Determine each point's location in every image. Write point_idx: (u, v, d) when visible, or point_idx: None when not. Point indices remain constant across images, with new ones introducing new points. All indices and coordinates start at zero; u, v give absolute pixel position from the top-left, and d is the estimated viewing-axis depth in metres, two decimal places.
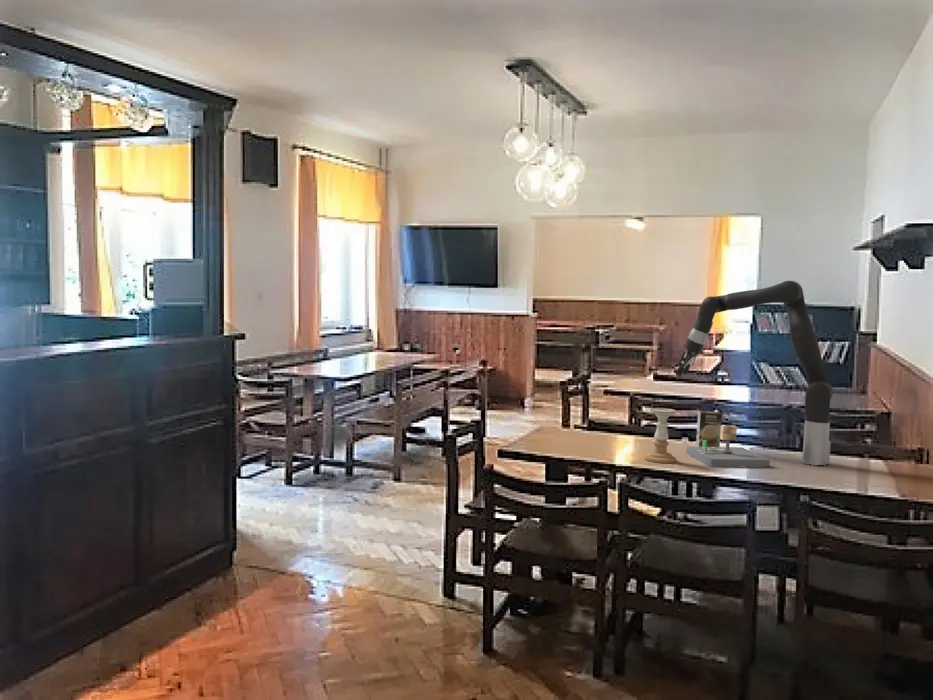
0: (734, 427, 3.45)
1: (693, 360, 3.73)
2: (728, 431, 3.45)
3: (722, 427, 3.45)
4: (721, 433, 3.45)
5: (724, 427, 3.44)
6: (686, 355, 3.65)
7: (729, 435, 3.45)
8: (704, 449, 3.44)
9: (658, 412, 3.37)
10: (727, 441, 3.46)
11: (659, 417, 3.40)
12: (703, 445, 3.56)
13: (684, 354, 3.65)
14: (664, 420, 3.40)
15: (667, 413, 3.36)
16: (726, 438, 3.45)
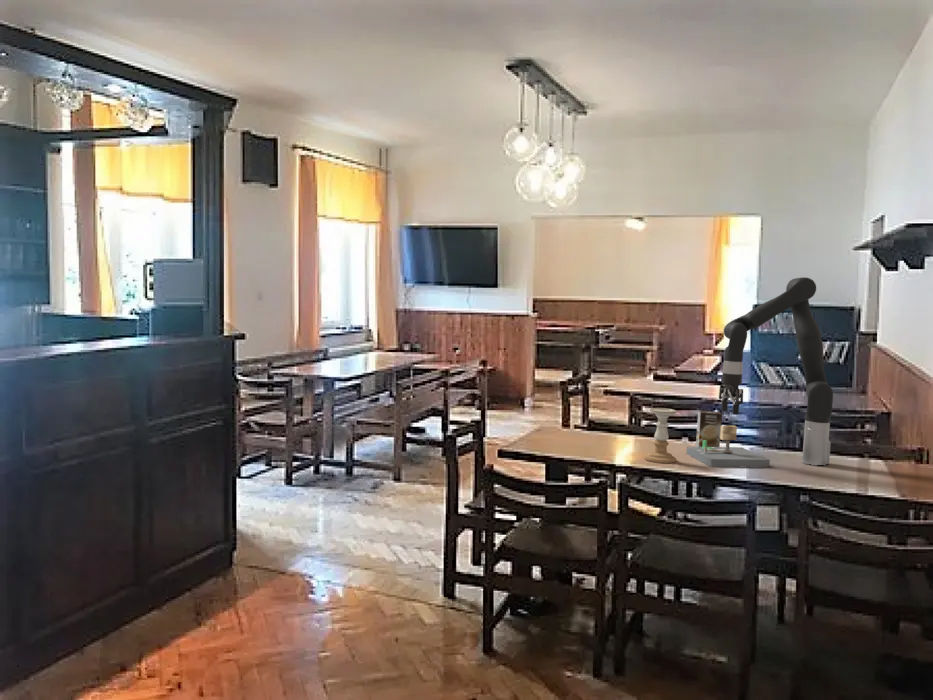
0: (734, 427, 3.45)
1: None
2: (728, 431, 3.45)
3: (722, 427, 3.45)
4: (721, 433, 3.45)
5: (724, 427, 3.44)
6: (741, 391, 3.38)
7: (729, 435, 3.45)
8: (704, 449, 3.44)
9: (658, 412, 3.37)
10: (727, 441, 3.46)
11: (659, 417, 3.40)
12: (703, 445, 3.56)
13: (739, 391, 3.38)
14: (664, 420, 3.40)
15: (667, 413, 3.36)
16: (726, 438, 3.45)
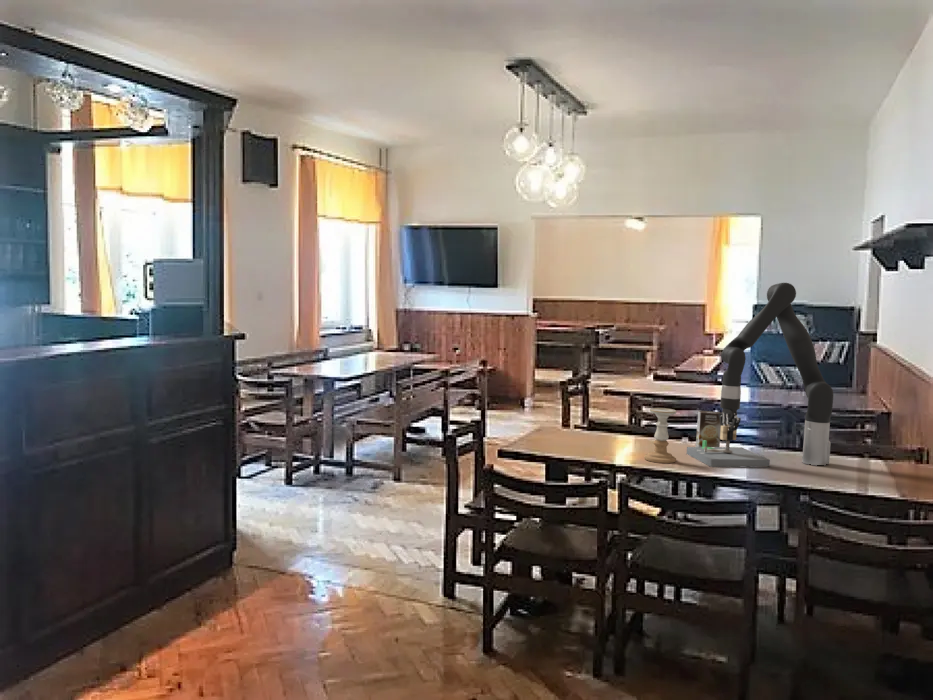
0: None
1: None
2: None
3: (722, 427, 3.45)
4: (721, 433, 3.45)
5: (724, 427, 3.44)
6: (738, 420, 3.40)
7: None
8: (704, 449, 3.44)
9: (658, 412, 3.37)
10: (727, 441, 3.46)
11: (659, 417, 3.40)
12: (703, 445, 3.56)
13: (736, 420, 3.39)
14: (664, 420, 3.40)
15: (667, 413, 3.36)
16: (726, 438, 3.45)
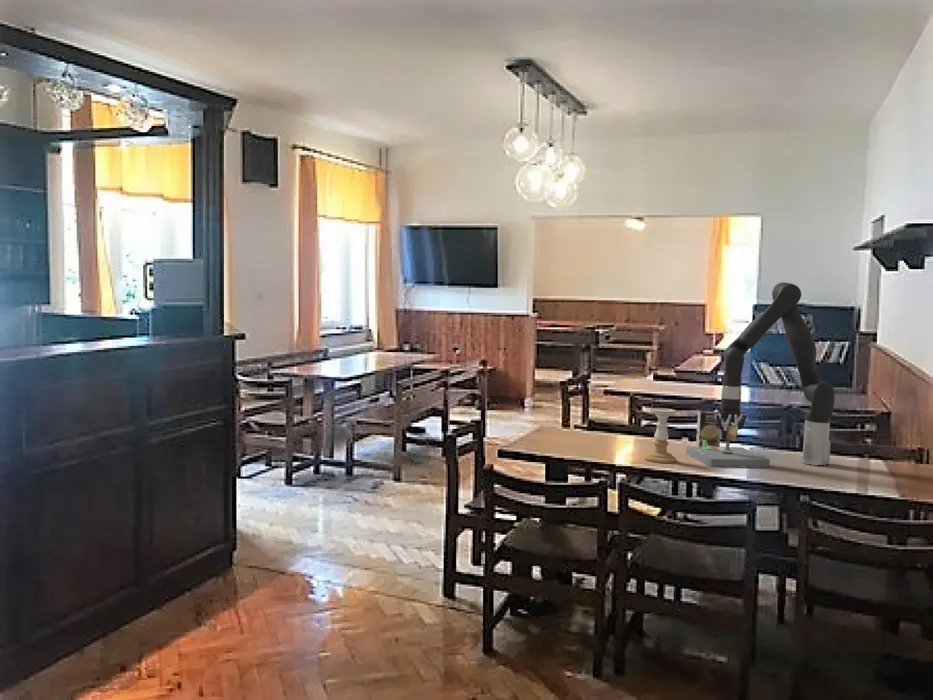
0: (731, 428, 3.44)
1: (736, 421, 3.44)
2: None
3: None
4: None
5: None
6: (715, 417, 3.44)
7: (726, 435, 3.46)
8: None
9: (658, 412, 3.37)
10: (726, 441, 3.46)
11: (659, 417, 3.40)
12: (703, 445, 3.56)
13: (714, 416, 3.44)
14: (664, 420, 3.40)
15: (667, 413, 3.36)
16: None
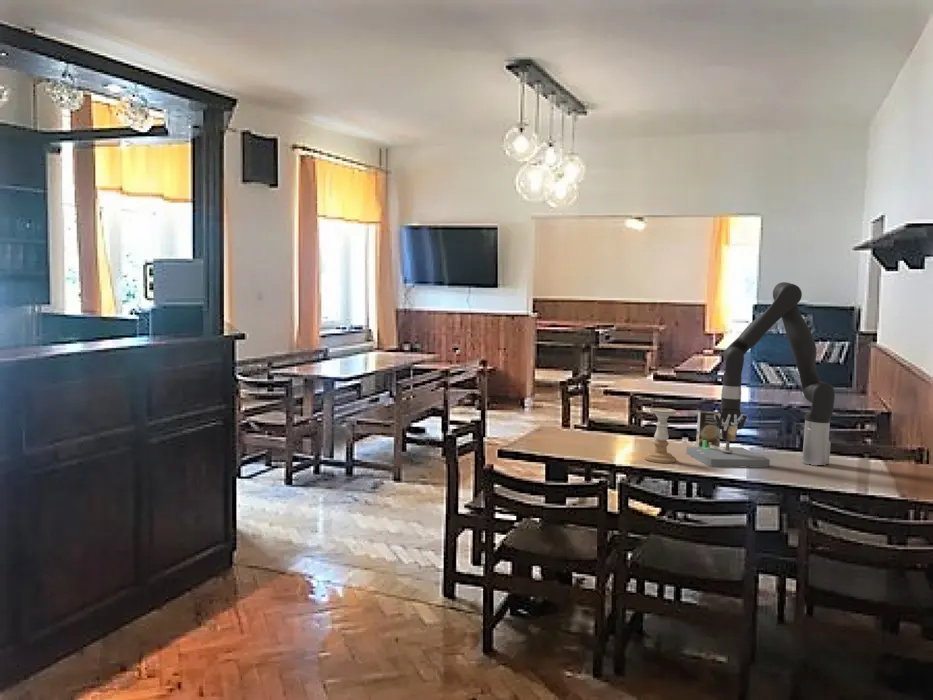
0: (730, 428, 3.44)
1: (736, 421, 3.44)
2: None
3: None
4: None
5: None
6: (715, 417, 3.44)
7: None
8: None
9: (658, 412, 3.37)
10: (726, 441, 3.46)
11: (659, 417, 3.40)
12: (703, 445, 3.56)
13: (714, 417, 3.45)
14: (664, 420, 3.40)
15: (667, 413, 3.36)
16: None
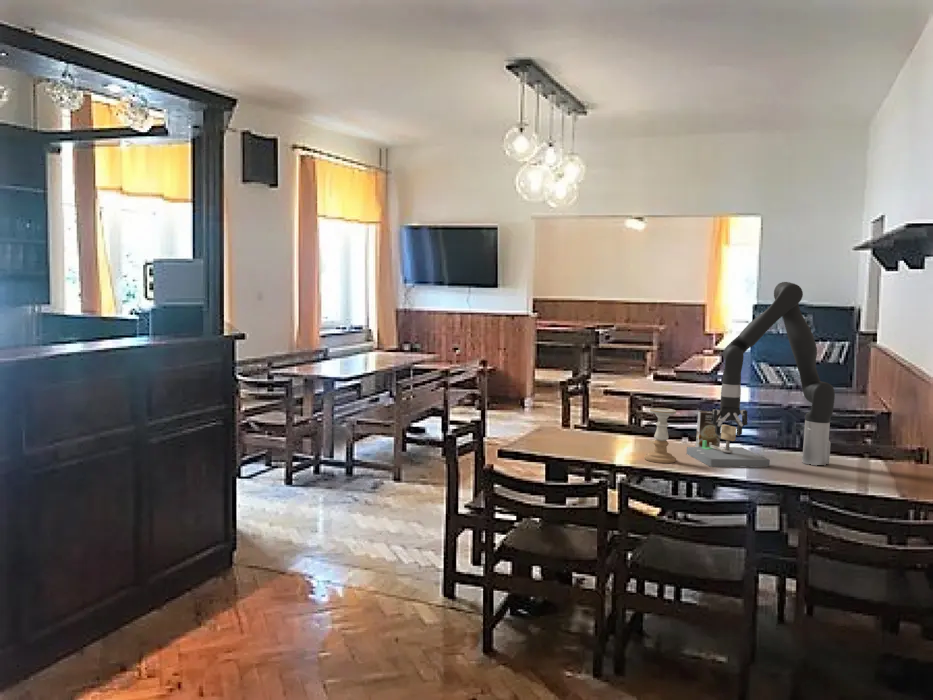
0: (730, 428, 3.44)
1: (737, 418, 3.44)
2: (725, 430, 3.46)
3: None
4: None
5: (722, 426, 3.48)
6: (713, 411, 3.44)
7: (726, 435, 3.46)
8: None
9: (658, 412, 3.37)
10: (726, 441, 3.46)
11: (659, 417, 3.40)
12: (703, 445, 3.56)
13: (712, 411, 3.45)
14: (664, 420, 3.40)
15: (667, 413, 3.36)
16: (723, 437, 3.47)
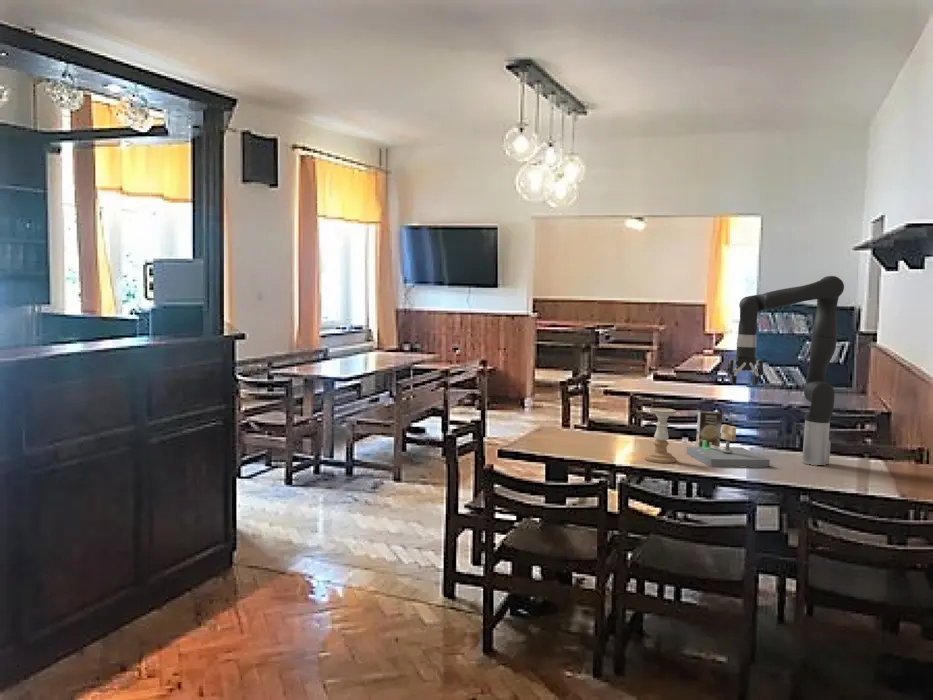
0: (730, 428, 3.44)
1: (753, 368, 3.50)
2: (725, 430, 3.46)
3: None
4: None
5: (722, 426, 3.48)
6: (730, 361, 3.50)
7: (726, 435, 3.46)
8: None
9: (658, 412, 3.37)
10: (726, 441, 3.46)
11: (659, 417, 3.40)
12: (703, 445, 3.56)
13: (729, 361, 3.51)
14: (664, 420, 3.40)
15: (667, 413, 3.36)
16: (723, 437, 3.47)
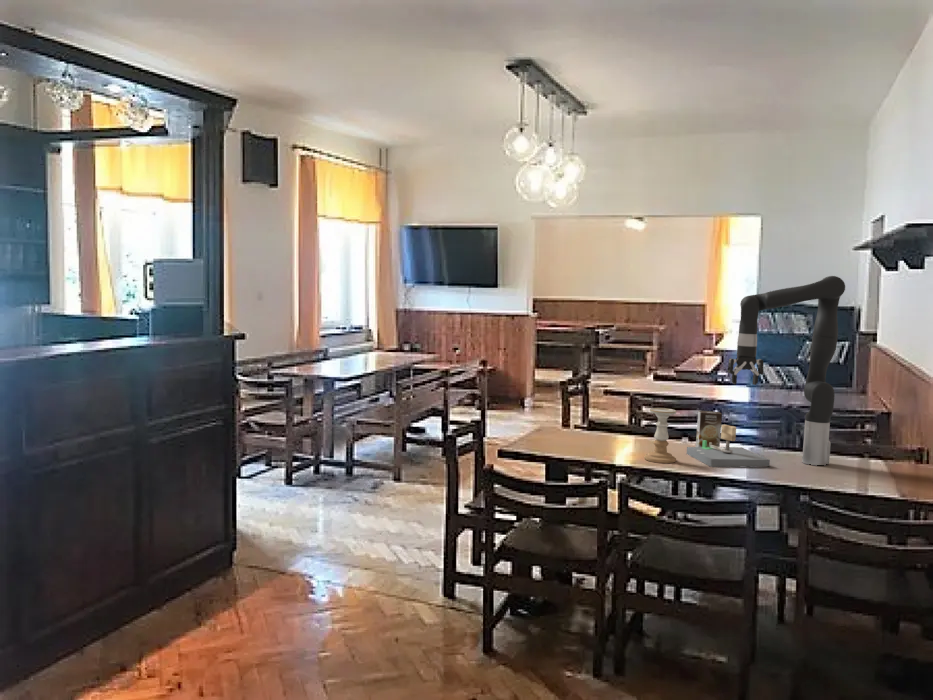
0: (730, 428, 3.44)
1: (754, 367, 3.51)
2: (725, 430, 3.46)
3: None
4: None
5: (722, 426, 3.48)
6: (730, 360, 3.51)
7: (726, 435, 3.46)
8: None
9: (658, 412, 3.37)
10: (726, 441, 3.46)
11: (659, 417, 3.40)
12: (703, 445, 3.56)
13: (729, 360, 3.52)
14: (664, 420, 3.40)
15: (667, 413, 3.36)
16: (723, 437, 3.47)
